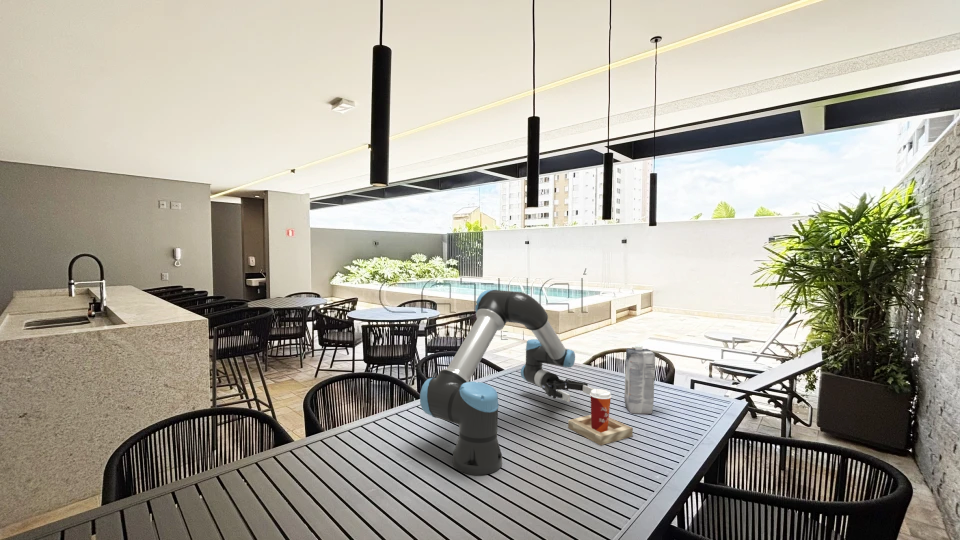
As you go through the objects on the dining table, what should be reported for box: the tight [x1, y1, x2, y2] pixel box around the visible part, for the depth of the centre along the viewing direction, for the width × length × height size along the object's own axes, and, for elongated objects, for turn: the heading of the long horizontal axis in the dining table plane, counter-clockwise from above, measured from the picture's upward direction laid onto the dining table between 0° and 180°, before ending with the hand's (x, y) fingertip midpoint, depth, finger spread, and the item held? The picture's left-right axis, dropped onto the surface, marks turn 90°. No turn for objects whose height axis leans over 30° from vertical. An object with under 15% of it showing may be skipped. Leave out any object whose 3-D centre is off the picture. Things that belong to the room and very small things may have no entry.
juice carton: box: [623, 345, 656, 415], centre depth 172 cm, size 9×10×27 cm
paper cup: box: [589, 388, 613, 433], centre depth 150 cm, size 8×8×14 cm
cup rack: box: [567, 414, 634, 446], centre depth 150 cm, size 16×16×3 cm
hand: (582, 395), depth 158 cm, fingers open, 13 cm apart
